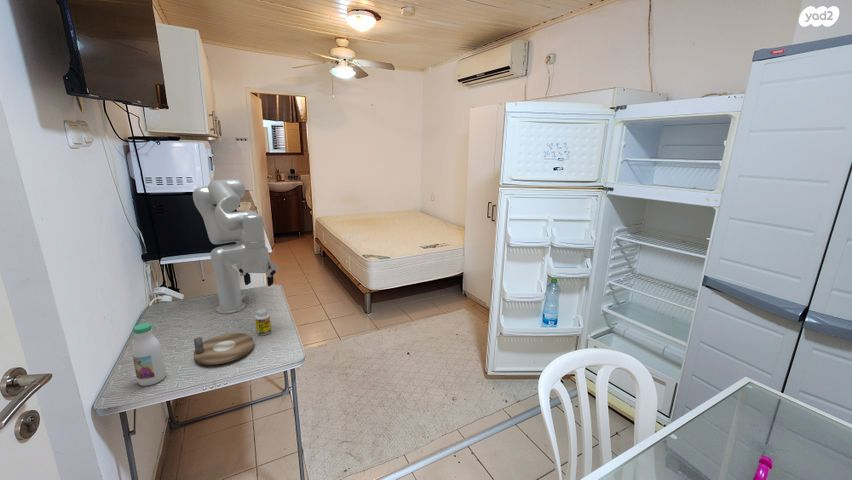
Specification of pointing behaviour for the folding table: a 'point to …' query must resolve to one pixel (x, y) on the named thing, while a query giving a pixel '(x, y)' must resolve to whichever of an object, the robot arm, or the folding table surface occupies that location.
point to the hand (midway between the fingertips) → (259, 284)
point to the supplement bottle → (263, 322)
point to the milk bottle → (147, 356)
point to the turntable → (222, 348)
